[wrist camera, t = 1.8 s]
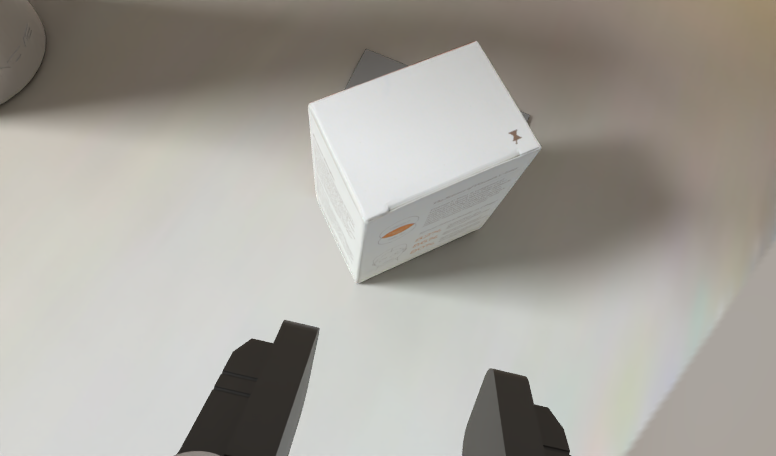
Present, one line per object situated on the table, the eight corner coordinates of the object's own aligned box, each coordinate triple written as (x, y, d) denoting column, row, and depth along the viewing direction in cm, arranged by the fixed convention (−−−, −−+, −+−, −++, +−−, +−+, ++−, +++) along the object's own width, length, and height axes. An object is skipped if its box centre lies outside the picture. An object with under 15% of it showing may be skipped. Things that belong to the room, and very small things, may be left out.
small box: (438, 148, 34) (481, 34, 24) (482, 230, 32) (548, 145, 22) (312, 198, 32) (303, 98, 22) (354, 287, 31) (364, 223, 21)
